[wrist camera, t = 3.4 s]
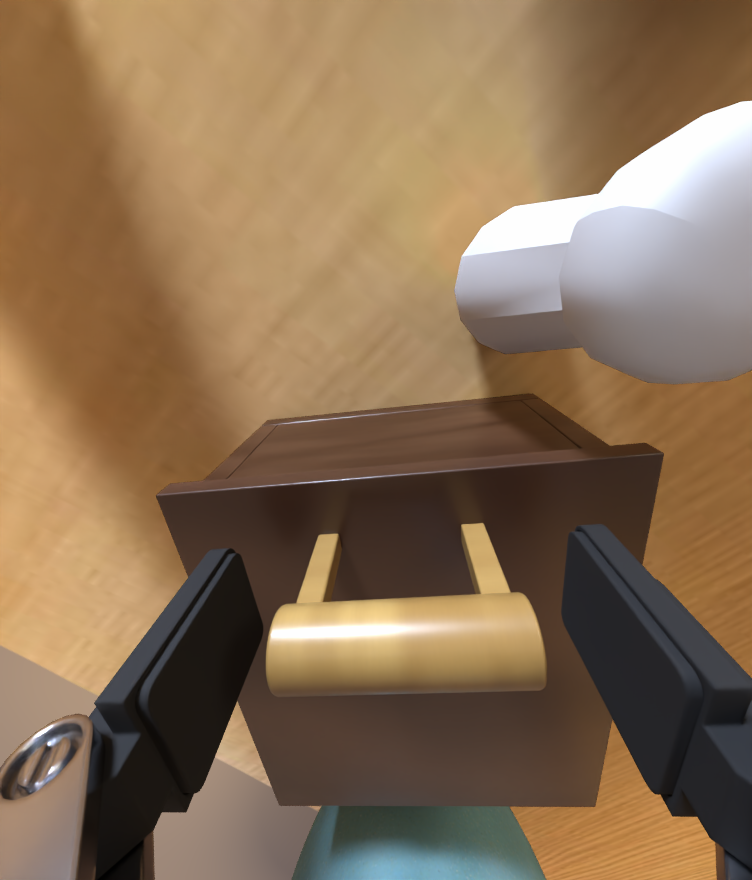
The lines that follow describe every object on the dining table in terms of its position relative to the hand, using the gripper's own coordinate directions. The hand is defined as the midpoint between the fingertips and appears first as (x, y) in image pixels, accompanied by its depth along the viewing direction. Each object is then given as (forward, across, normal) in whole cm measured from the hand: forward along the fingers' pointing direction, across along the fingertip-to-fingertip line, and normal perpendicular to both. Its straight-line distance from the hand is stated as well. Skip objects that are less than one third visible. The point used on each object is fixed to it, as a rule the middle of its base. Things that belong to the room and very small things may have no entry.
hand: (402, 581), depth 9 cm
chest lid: (+3, 0, +7) cm, 7 cm away
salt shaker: (+12, -6, -7) cm, 15 cm away
